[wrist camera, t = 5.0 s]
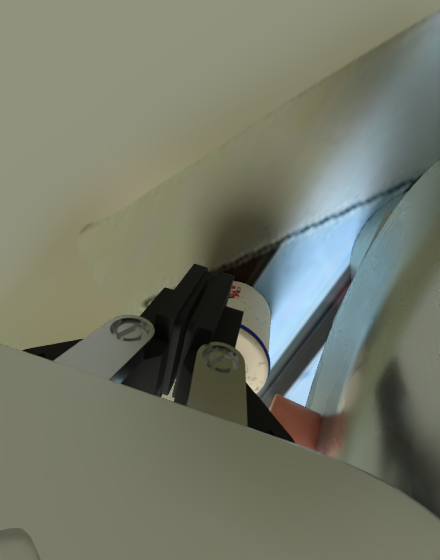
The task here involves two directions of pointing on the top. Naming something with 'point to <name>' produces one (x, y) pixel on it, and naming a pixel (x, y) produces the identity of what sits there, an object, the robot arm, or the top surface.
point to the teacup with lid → (252, 333)
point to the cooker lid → (384, 358)
